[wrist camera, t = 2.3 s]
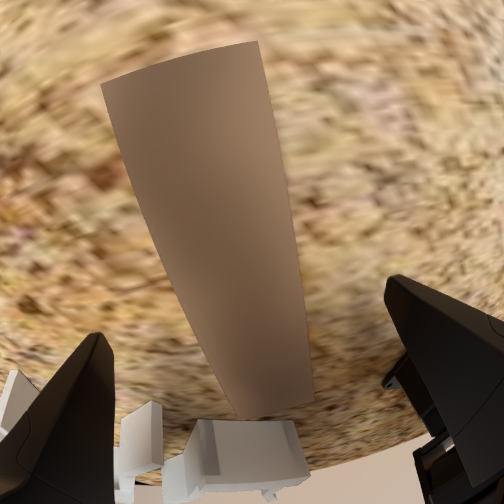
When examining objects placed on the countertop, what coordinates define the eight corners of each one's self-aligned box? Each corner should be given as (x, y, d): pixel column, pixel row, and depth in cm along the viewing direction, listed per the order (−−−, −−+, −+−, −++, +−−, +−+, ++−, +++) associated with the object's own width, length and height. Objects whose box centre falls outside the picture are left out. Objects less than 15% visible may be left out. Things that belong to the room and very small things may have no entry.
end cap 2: (160, 463, 21) (163, 511, 17) (175, 416, 17) (180, 483, 13) (265, 464, 24) (276, 506, 20) (310, 419, 21) (329, 472, 16)
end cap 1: (162, 401, 16) (165, 473, 12) (150, 455, 20) (153, 506, 16) (9, 366, 13) (-13, 430, 9) (36, 432, 17) (28, 480, 13)
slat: (235, 56, 9) (257, 40, 6) (294, 347, 16) (315, 400, 13) (130, 85, 9) (100, 84, 5) (229, 365, 16) (240, 421, 13)
